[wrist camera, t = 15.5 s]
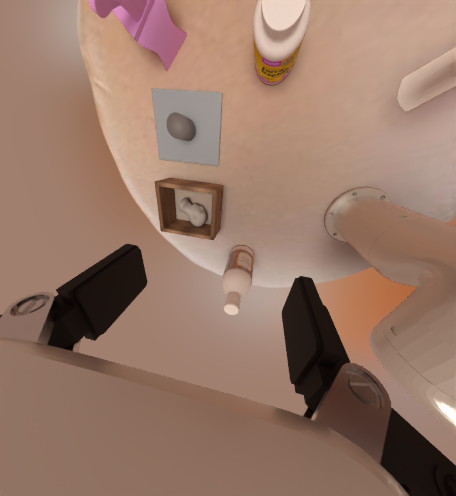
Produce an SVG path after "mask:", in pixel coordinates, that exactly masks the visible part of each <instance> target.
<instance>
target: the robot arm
mask: <svg viewBox="0 0 456 496" xmlns="http://www.w3.org/2000/svg"><path fill="white" fill-rule="evenodd" d="M353 192H354V193H353ZM352 193H353V194H352ZM330 212H331V213H330ZM329 213H330V214H329ZM324 223H325V228H326V230H327V232H328V233H329V234H330V235H331V236H332V237H333V238H335V239H337V240H339V241H343V242H348V243H349V244H350V245H351V246H352V247H353V248H354V249H355V250H356V251H357V252H358V253H359V254H360V255H361V256H362V257H363V258H364V259H365V260H366V261H367V262H368V263H369V264H370V265H371V266H372V267H374V268H375V269H376V270H377V271H378V272H379V273H380V274H381V275H383V276H384V277H386V278H387V279H389V280H392V281H394V282H397V283H400V284H404V285H409V286H416V287H417V289H416V290H415V291H414V292H412V293H411V294H410V295H409V296H408V297H407V299H406V300H404V301H403V302H402V303H401V304H400V305H399V306H397V307H396V308H395V309H394V310H393V311H391V312H390V313H389V314H388V315H387V316H386V317H385V318H383V319H382V320H381V321H380V322H379V323H378V324H377V325H376V326H375V327H374V328H373V330H372V332H371V334H370V345H371V348H372V350H373V353H374V354H375V356H376V358H377V359H378V361H379V362H380V364H381V365H382V366H383V368H384V369H385V370H386V371H387V372H388V373H389V374H390V376H391V377H392V378H393V379H394V380H395V381H396V382H397V383H398V384H399V385H400V386H401V387H402V388H403V389H404V390H406V391H407V392H408V393H409V394H410V395H411V396H412V397H413V398H414V399H415V400H417V401H418V402H419V403H420V404H421V405H422V406H423V407H424V408H426V409H427V410H428V411H429V412H430V413H431V414H432V415H433V416H435V417H436V418H437V419H438V420H439V421H440V422H441V423H442V424H444V425H445V426H446V427H447V428H448V429H449V430H451V431H452V432H453V433H454V434H455V435H456V227H455V226H452V225H449V224H447V223H444V222H441V221H438V220H435V219H433V218H430V217H427V216H424V215H422V214H419V213H416V212H413V211H411V210H408V209H405V208H402V207H400V206H397V205H394V204H391V201H390V199H389V197H388V195H387V194H385V193H384V192H383V191H381V190H379V189H375V188H370V187H360V188H356V189H352V190H350V191H347V192H346V193H344V194H342V195H341V196H339V197H338V198H337V199H336V200H335V201H334V202H333V203H332V204H331V205H330V207H329V208H328V210H327V212H326V215H325V222H324ZM146 285H147V278H146V273H145V268H144V264H143V259H142V254H141V250H140V249H139V247H138V246H136V245H131V244H126V245H124V246H122V247H121V248H119V249H118V250H116V251H115V252H113V253H112V254H110V255H108V256H107V257H105V258H104V259H103V260H101V261H99V262H98V263H96V264H95V265H93V266H92V267H90V268H88V269H87V270H85V271H84V272H82V273H81V274H79V275H78V276H76V277H75V278H73V279H72V280H70V281H69V282H67V283H65V284H64V285H62V286H61V287H59V288H58V289H56V291H57V292H58V295H57V296H56V297H55V296H54V295H53V293H50V292H40V293H35V294H32V295H28V296H26V297H24V298H21V299H20V300H18V301H16V302H14V303H13V304H12V305H10V306H9V307H8V308H7V309H6V311H5V312H4V314H2V315H0V496H456V465H454V464H453V463H452V462H451V461H450V460H449V459H448V458H447V457H445V456H444V455H443V454H442V453H441V452H440V451H439V450H438V449H437V448H436V447H434V446H433V445H432V444H431V443H430V442H429V441H428V440H427V439H426V438H425V437H423V436H422V435H421V434H420V433H419V432H418V431H417V430H416V429H415V428H414V427H412V426H411V425H410V424H409V423H408V422H407V421H406V420H405V419H403V417H401V416H400V415H399V414H398V413H397V412H396V411H395V410H394V409H393V408H391V401H390V398H389V395H388V393H387V391H386V390H385V388H384V386H383V385H382V384H381V382H380V381H379V380H378V379H377V378H376V377H375V376H374V375H373V374H372V373H371V372H370V371H368V370H367V369H365V368H364V367H362V366H360V365H357V364H355V363H350V360H349V358H348V356H347V353H346V351H345V349H344V346H343V344H342V342H341V340H340V337H339V335H338V333H337V330H336V328H335V326H334V323H333V321H332V319H331V316H330V314H329V312H328V310H327V308H326V306H324V305H323V304H322V301H321V299H320V297H319V294H318V292H317V289H316V287H315V285H314V282H313V280H312V278H309V277H303V276H300V277H299V278H295V280H294V283H293V285H292V288H291V290H290V293H289V295H288V298H287V300H286V302H285V305H284V307H283V310H282V319H283V328H284V336H285V342H286V351H287V358H288V367H289V374H290V381H291V383H292V384H294V385H295V392H296V393H299V394H302V395H304V399H305V403H306V405H307V406H306V408H305V410H304V412H303V414H302V415H301V416H300V415H297V414H295V413H292V412H289V411H286V410H283V409H279V408H276V407H273V406H269V405H266V404H263V403H259V402H256V401H252V400H249V399H246V398H242V397H239V396H235V395H232V394H228V393H224V392H220V391H217V390H213V389H210V388H206V387H202V386H199V385H195V384H192V383H188V382H185V381H181V380H177V379H174V378H170V377H166V376H162V375H159V374H155V373H152V372H148V371H144V370H141V369H137V368H133V367H130V366H126V365H122V364H119V363H115V362H111V361H107V360H103V359H100V358H96V357H92V356H88V355H84V354H81V353H78V351H79V346H80V340H81V339H82V338H83V336H85V338H87V339H91V340H94V341H95V340H96V339H97V338H98V337H99V336H100V335H102V334H104V333H105V332H106V330H108V328H109V327H110V326H111V325H112V324H113V323H114V322H115V320H116V319H117V318H118V317H119V316H120V315H121V314H122V313H123V312H124V310H125V309H126V308H127V307H128V306H129V305H130V304H131V302H132V301H133V300H134V299H135V298H136V297H137V296H138V294H139V293H140V292H141V291H142V290H143V289H144V288H145V287H146Z"/></svg>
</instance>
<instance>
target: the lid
mask: <svg viewBox="0 0 456 496" xmlns="http://www.w3.org/2000/svg"><path fill="white" fill-rule="evenodd" d="M151 89H152V98H153V107H154V116H155V124H156V133H157V142H158V151H159V159H162V160H171V161H180V162H189V163H198V164H206V165H215V166H219V151H220V132H221V112H222V93H220V92H203V91H187V90H170V89H153V88H151Z"/></svg>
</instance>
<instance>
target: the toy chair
mask: <svg viewBox="0 0 456 496" xmlns="http://www.w3.org/2000/svg"><path fill="white" fill-rule="evenodd" d="M89 4H90V7H91V9H92V10H93V11H94V12H95V13H96V14H97V15H99V16H100V17H101V18H105V17H107V16H108V15H109V13H110V12H111V11H112V12H113V13H114V14H115V15H116V17H117V18H118V19H119V20H120V22H121V23H122V24H123V26H124V27H125V28H126V29H127V31H128V32H129V33H130V34H131V36H132V37H133V38H134V39H135V40H136V41H137V42H138V43H139V44H140V45H141V46H142V47H144V48H147V49H149V50H152V51H154V52H155V53H157V54H158V55H159V57H160V59H161V61H162V63H163V65H164V67H165V69H166V71H168V69H169V67H170V65H171V64H172V62H173V60H174V58H175V56H176V54H177V53H178V51H179V49H180V47H181V45H182V43H183V42H184V40H185V38H186V36H187V34H186V32H184V31H182V30H181V29H179V28H178V27H176V26H175V25H174V24H173V22H172V20H171V18H170V16H169V13H168V9H167V6H166V2H165V0H89Z"/></svg>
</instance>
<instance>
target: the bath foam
mask: <svg viewBox="0 0 456 496" xmlns="http://www.w3.org/2000/svg"><path fill="white" fill-rule="evenodd" d="M253 258H254V255H253V252H252V251H251V249H250V248H248V247H246V246H236V247H234V248H233V249H232V251H231V253H230V255H229V258H228V262H227V265H226V268H225V271H224V274H223V279H222V286H223V290H224V292H225V294H226V295H227V297H226V301H225V305H224V310H225V312H226V313H228V314H231V315H235V314H237V313H238V312H239V306H240V299H241V298H242V297H244V296H245V295H246V294H247V293H248V292H249V289H250V287H251V284H252V273H253Z"/></svg>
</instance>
